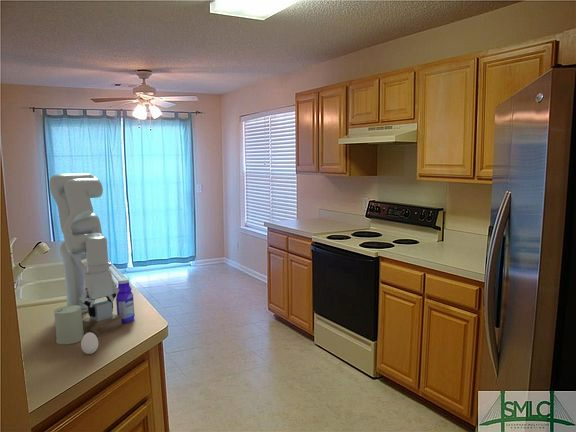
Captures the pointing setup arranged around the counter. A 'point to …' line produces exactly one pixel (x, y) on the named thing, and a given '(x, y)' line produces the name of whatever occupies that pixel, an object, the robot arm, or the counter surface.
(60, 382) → the counter surface
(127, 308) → the bottle
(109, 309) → the grey cube
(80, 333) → the can
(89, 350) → the egg
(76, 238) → the robot arm
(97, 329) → the walnut block
